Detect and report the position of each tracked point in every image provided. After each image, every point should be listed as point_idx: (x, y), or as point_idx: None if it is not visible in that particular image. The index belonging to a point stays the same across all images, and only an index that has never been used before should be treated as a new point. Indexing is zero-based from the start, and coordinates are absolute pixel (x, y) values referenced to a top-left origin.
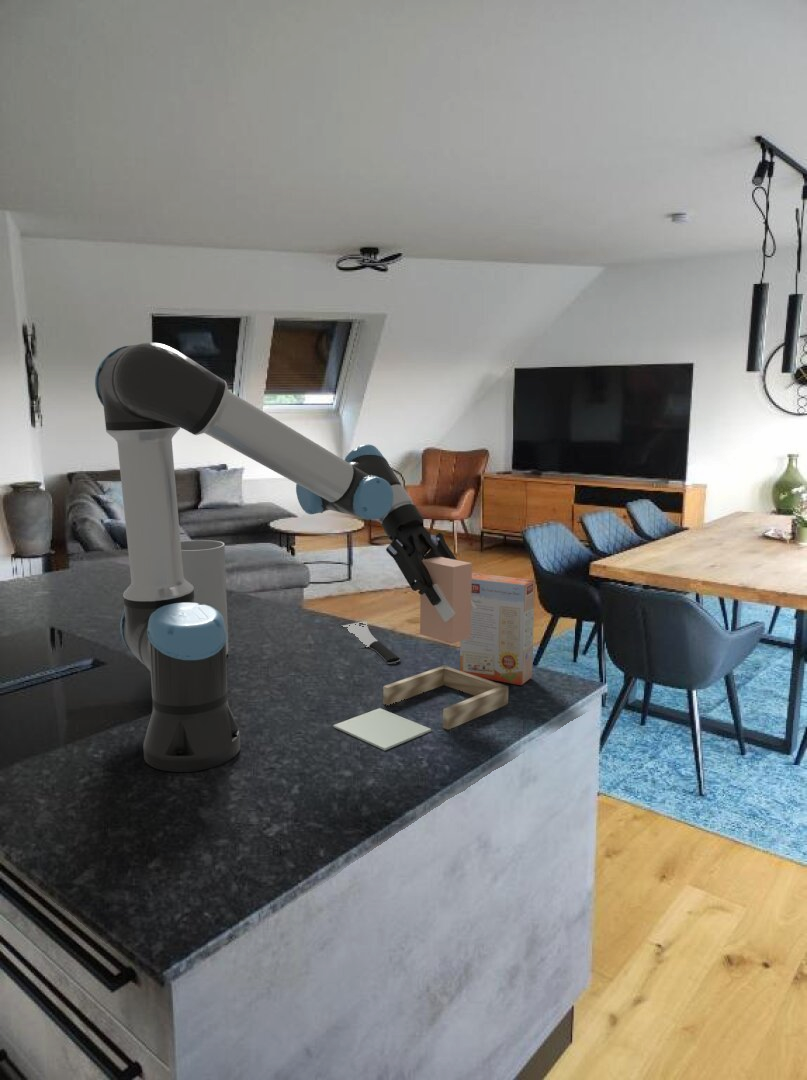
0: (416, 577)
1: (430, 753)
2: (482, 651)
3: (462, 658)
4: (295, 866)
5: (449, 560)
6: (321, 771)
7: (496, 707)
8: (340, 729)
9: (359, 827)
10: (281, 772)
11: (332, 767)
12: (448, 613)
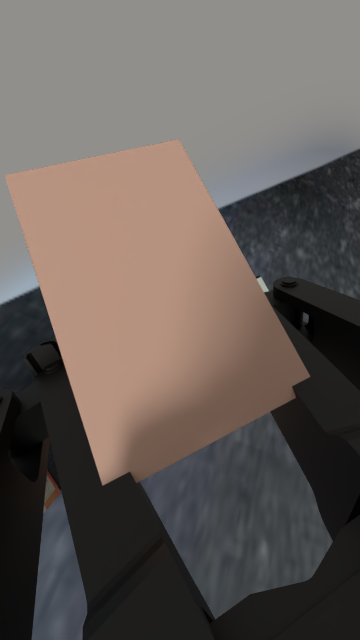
0: (316, 286)
1: None
2: None
3: (46, 501)
4: (344, 166)
5: (106, 305)
6: (321, 264)
7: None
8: None
9: (303, 183)
10: (354, 275)
11: (311, 267)
12: None
